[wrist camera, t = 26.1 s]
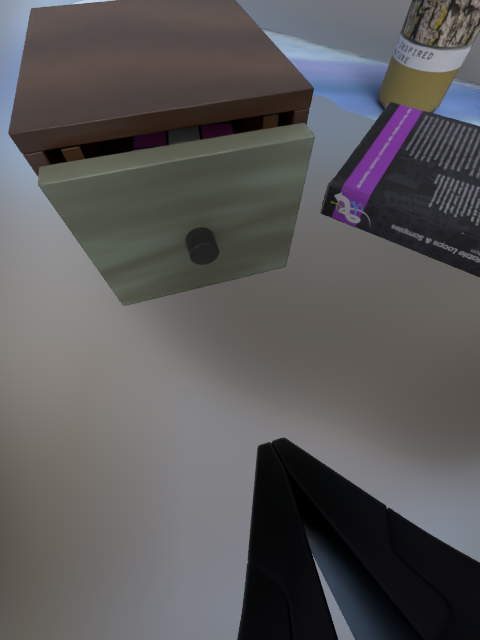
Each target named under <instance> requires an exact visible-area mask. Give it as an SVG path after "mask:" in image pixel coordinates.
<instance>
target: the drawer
mask: <svg viewBox="0 0 480 640" xmlns="http://www.w3.org/2000/svg"><path fill="white" fill-rule="evenodd" d="M278 118H279V115H278V113H274V114H268V115H262V116H256V117H249V118H243V119H237V120H231V122H232V126H233V130H234V134H232V135H226V136H221V137H215V138H209V139H203V140H197V141H191V142H185V143H179V144H173V145H167V146H161V147H155V148H149V149H143V150H137V151H133V136H131V137H124V138H118V139H112V140H106V141H99V142H93V143H87V144H81V145H74V146H68V147H62V148H61V152H62V153H63V155H64V157H65V159H66V161H67V162H65V163H59V164H53V165H47V166H41V167H39V178H38V186H39V187H40V188H41V190H42V191H43V193H44V194H45V195H46V197H47V198H48V200H49V201H50V203H51V204H52V205H53V207H54V208H55V210H56V211H57V212H58V214H59V215H60V216H61V218H62V219H63V221H64V222H65V223H66V225H67V227H68V228H69V229H70V231H71V232H72V234H73V235H74V236H75V238H76V239H77V241H78V242H79V244H80V245H81V247H82V248H83V249H84V251H85V252H86V254H87V255H88V256H89V258H90V259H91V261H92V262H93V264H94V265H95V266H96V268H97V269H98V270H99V272H100V273H101V275H102V276H103V278H104V279H105V281H106V282H107V283H108V285H109V286H110V288H111V289H112V290H113V292H114V293H115V295H116V296H117V297H118V299H119V300H120V301H121V303H122V305H123V306H125V305H130V304H134V303H138V302H142V301H146V300H151V299H155V298H159V297H163V296H167V295H171V294H176V293H180V292H184V291H188V290H192V289H196V288H200V287H204V286H209V285H213V284H217V283H221V282H225V281H229V280H234V279H238V278H242V277H246V276H250V275H254V274H258V273H263V272H267V271H270V270H275V269H279V268H283V267H286V264H287V259H288V255H289V250H290V245H291V241H292V237H293V232H294V228H295V223H296V219H297V214H298V210H299V205H300V201H301V196H302V192H303V187H304V183H305V178H306V174H307V169H308V165H309V160H310V155H311V151H312V147H313V142H314V138H315V137H314V134H313V133H312V132H311V130H309V128H308V127H307V125H306V124H305V123H298V124H292V125H286V126H280V127H278Z"/></svg>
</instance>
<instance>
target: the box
mask: <svg viewBox="0 0 480 640" xmlns="http://www.w3.org/2000/svg"><path fill="white" fill-rule="evenodd" d="M322 205H323V206H322V209H321V214H323V215H325V216H329V217H331V218H334V219H336V220H338V221H340V222H343V223H347V224H348V225H351V226H353V227H356V228H359V229H361V230H364V231H366V232H369V233H371V234H374V235H376V236H379V237H382V238H384V239H386V240H389V241H391V242H394V243H397V244H399V245H401V246H404V247H406V248H409V249H411V250H413V251H417V252H419V253H421V254H423V255H426V256H428V257H431V258H433V259H436V260H438V261H441V262H443V263H446V264H448V265H451V266H453V267H455V268H458V269H461V270H463V271H466V272H468V273H470V274H473V275H475V276H478V277H480V126H476V125H473V124H470V123H466V122H462V121H459V120H455V119H452V118H447V117H444V116H440V115H436V114H433V113H429V112H426V111H422V110H419V109H415V108H411V107H408V106H404V105H401V104H397V103H393V102H390V103H388V104H387V106H386V107H385V109H384V111H383V112H382V114H381V115H380V116H379V118H378V119H377V120H376V122H375V123H374V125H373V126H372V127H371V129H370V130H369V131H368V133H367V134H366V136H365V137H364V138H363V140H362V141H361V143H360V144H359V145H358V146H357V148H356V149H355V150H354V152H353V153H352V155H351V156H350V157H349V159H348V160H347V161H346V163H345V164H344V165H343V167H342V168H341V170H340V171H339V172H338V174H337V175H336V176H335V178H333V179H332V181H331V182H330V183H329V184H328V187H327V190H326V194H325V196H324V200H323V203H322Z"/></svg>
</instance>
